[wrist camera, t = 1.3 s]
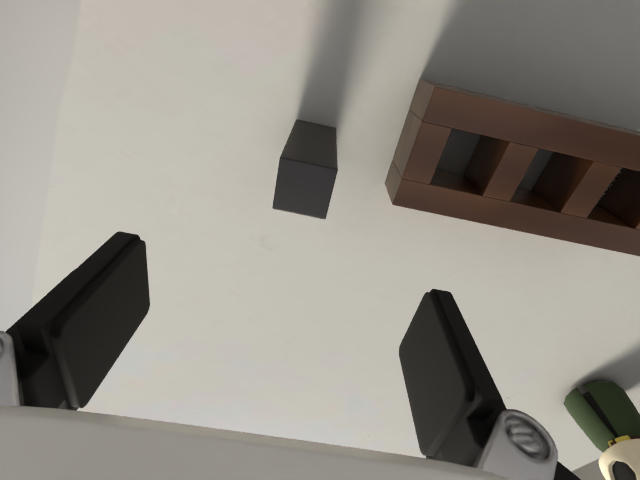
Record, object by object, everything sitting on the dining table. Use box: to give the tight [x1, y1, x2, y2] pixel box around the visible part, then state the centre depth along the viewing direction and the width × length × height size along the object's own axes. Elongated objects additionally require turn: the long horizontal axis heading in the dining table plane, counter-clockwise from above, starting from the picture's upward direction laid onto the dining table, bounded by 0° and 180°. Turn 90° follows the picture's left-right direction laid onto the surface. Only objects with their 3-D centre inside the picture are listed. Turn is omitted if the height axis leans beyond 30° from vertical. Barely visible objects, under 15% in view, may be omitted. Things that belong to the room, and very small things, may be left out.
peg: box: [272, 120, 338, 219], centre depth 22 cm, size 3×3×9 cm
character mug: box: [564, 381, 640, 480], centre depth 34 cm, size 11×7×13 cm, turn 137°
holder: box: [385, 79, 640, 256], centre depth 24 cm, size 8×19×4 cm, turn 78°
